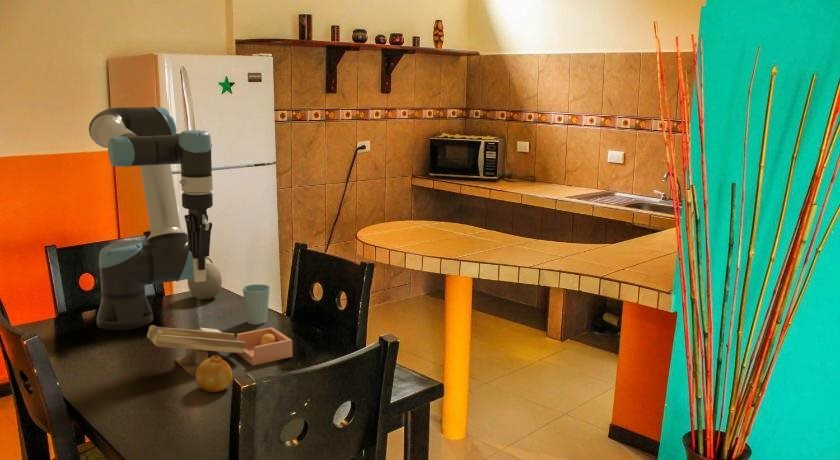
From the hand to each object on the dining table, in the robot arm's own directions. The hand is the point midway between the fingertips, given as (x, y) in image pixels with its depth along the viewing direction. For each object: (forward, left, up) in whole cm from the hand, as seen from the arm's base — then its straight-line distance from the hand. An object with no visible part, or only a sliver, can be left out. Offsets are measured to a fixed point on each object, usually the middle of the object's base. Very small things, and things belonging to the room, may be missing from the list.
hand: (200, 280), depth 194 cm
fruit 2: (+28, -7, -18) cm, 34 cm away
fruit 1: (-42, +16, -18) cm, 48 cm away
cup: (-11, +20, -18) cm, 29 cm away
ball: (+12, +13, -16) cm, 24 cm away
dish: (+14, +11, -18) cm, 25 cm away
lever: (+8, -6, -13) cm, 16 cm away
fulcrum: (+12, -6, -18) cm, 23 cm away
